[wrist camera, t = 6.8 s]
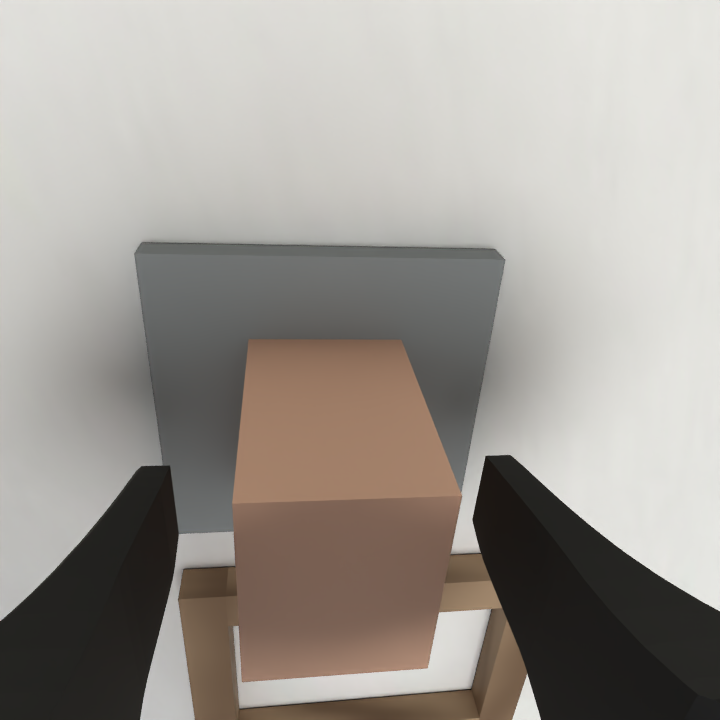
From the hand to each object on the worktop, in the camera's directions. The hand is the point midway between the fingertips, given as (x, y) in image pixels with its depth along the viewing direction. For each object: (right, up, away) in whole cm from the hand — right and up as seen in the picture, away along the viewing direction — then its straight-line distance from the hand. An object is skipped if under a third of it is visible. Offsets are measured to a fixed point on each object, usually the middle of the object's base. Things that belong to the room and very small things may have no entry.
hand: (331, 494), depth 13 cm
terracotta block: (0, +1, +3) cm, 3 cm away
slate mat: (-1, +2, +4) cm, 4 cm away
